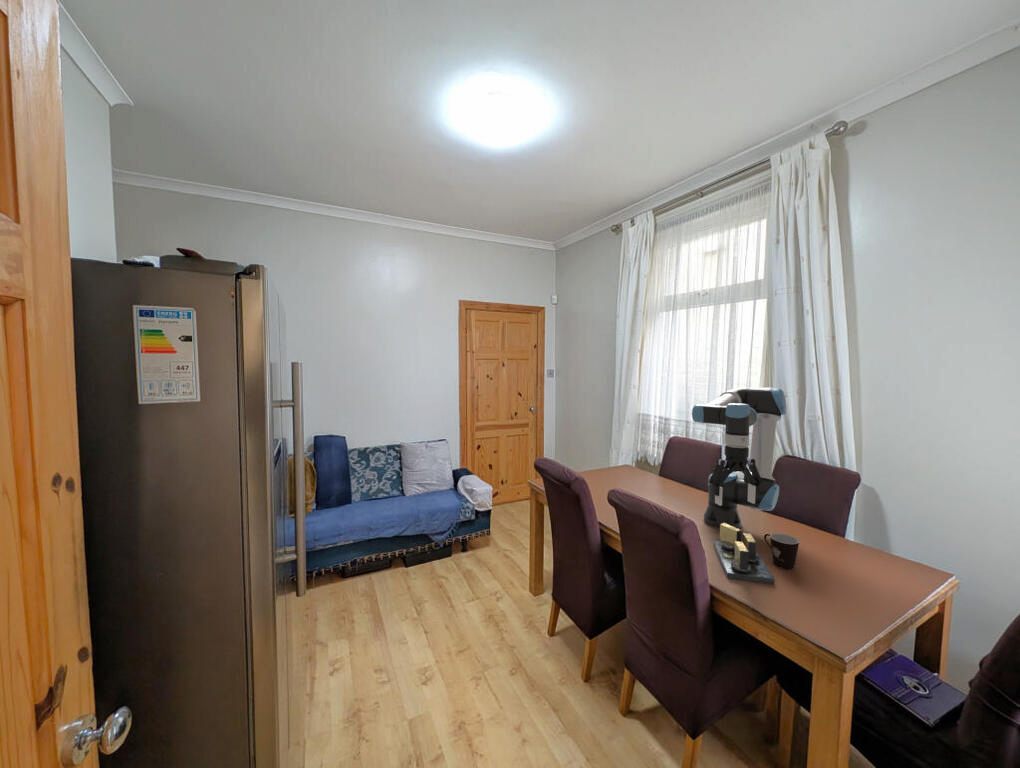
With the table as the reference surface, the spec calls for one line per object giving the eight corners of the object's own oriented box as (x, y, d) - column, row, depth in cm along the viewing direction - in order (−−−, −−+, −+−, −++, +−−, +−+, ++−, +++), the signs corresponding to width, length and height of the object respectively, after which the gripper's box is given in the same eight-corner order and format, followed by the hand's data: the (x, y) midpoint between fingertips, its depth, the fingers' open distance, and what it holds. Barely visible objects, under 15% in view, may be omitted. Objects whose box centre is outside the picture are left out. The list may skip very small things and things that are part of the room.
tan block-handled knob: (716, 544, 152) (716, 524, 151) (727, 541, 154) (727, 522, 153) (733, 552, 145) (734, 532, 144) (744, 549, 147) (744, 529, 147)
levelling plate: (713, 545, 155) (713, 539, 155) (753, 550, 151) (753, 544, 151) (727, 578, 132) (727, 571, 132) (774, 584, 128) (774, 577, 128)
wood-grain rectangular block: (737, 552, 145) (737, 532, 144) (755, 555, 143) (755, 534, 142) (742, 562, 138) (742, 541, 137) (761, 565, 136) (762, 543, 136)
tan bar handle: (728, 561, 139) (729, 540, 138) (747, 564, 137) (748, 542, 136) (733, 572, 132) (734, 550, 131) (753, 575, 130) (754, 552, 129)
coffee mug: (803, 572, 135) (804, 545, 134) (776, 570, 137) (776, 543, 136) (786, 555, 146) (787, 530, 146) (761, 554, 148) (762, 528, 147)
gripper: (713, 448, 133) (711, 508, 134) (775, 447, 138) (773, 505, 138) (699, 444, 141) (697, 501, 142) (758, 443, 145) (756, 498, 146)
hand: (735, 503), depth 140 cm, fingers open, 13 cm apart
